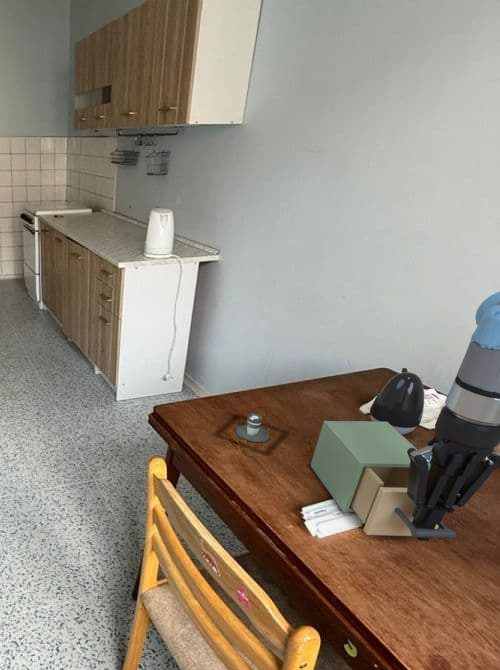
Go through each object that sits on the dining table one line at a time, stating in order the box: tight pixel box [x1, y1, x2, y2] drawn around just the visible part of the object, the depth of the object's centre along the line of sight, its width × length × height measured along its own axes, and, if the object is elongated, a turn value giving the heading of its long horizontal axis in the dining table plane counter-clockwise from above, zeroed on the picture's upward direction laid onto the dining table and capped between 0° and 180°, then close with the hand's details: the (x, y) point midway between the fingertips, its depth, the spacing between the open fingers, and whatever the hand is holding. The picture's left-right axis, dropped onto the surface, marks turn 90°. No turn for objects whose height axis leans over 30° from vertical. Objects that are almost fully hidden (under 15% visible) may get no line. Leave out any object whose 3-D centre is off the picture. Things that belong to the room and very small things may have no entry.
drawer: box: [350, 467, 457, 539], centre depth 84 cm, size 20×11×10 cm, turn 177°
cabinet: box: [310, 420, 431, 513], centre depth 93 cm, size 15×13×12 cm
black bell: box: [369, 367, 425, 436], centre depth 112 cm, size 10×10×15 cm
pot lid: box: [235, 413, 271, 443], centre depth 113 cm, size 12×12×5 cm
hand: (418, 534), depth 79 cm, fingers closed
